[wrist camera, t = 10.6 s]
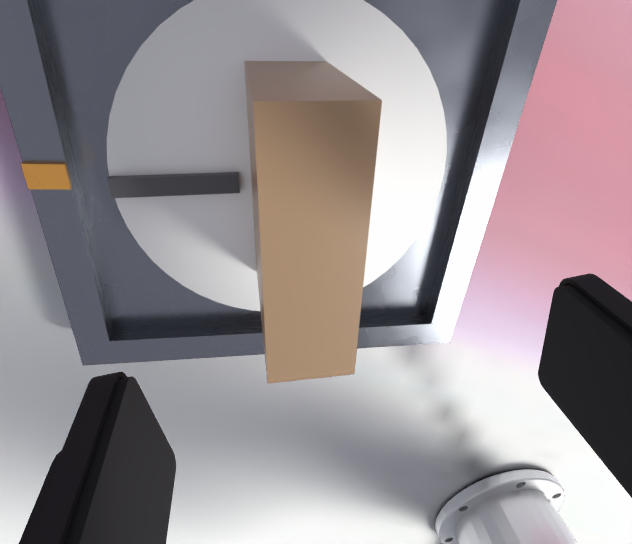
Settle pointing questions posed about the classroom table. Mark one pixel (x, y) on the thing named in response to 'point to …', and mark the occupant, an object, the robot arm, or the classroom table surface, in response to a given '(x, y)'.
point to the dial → (279, 163)
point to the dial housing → (146, 276)
